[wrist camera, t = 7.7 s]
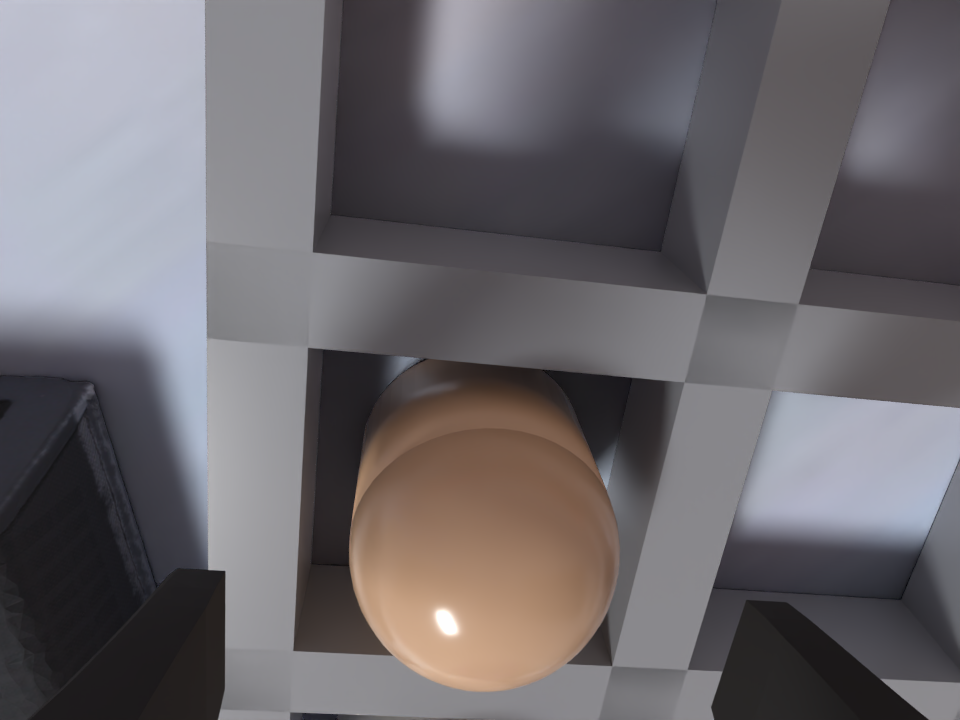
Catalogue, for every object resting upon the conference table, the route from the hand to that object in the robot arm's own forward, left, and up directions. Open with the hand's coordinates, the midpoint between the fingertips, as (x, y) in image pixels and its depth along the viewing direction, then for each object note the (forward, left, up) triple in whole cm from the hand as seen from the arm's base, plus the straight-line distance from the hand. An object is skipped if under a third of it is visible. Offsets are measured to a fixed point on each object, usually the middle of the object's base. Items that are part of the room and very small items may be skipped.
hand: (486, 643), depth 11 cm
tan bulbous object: (0, 0, -5) cm, 5 cm away
